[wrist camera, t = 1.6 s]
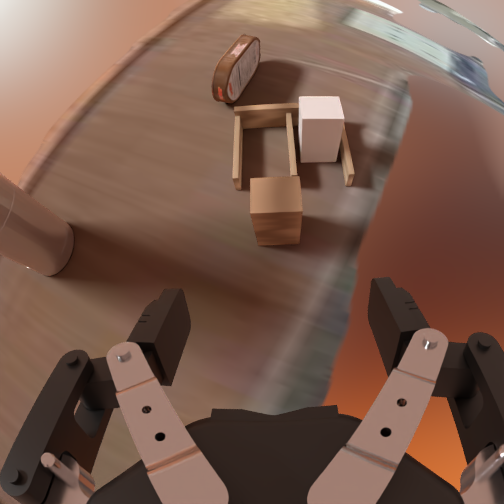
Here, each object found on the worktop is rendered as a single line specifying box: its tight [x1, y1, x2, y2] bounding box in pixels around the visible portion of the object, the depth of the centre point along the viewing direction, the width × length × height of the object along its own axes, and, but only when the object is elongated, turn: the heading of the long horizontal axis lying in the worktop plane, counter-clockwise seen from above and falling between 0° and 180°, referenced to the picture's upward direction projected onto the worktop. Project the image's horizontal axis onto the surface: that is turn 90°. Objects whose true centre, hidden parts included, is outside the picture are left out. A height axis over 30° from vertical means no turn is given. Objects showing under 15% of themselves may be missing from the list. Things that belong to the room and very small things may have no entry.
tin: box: [212, 35, 260, 103], centre depth 44 cm, size 15×3×8 cm, turn 158°
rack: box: [233, 103, 354, 190], centre depth 40 cm, size 15×12×4 cm
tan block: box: [250, 176, 302, 246], centre depth 34 cm, size 5×4×9 cm
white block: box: [298, 96, 344, 163], centre depth 38 cm, size 5×4×9 cm
